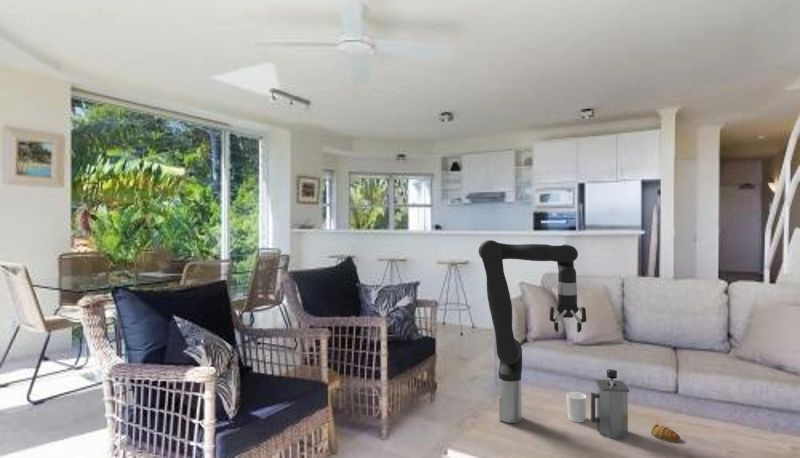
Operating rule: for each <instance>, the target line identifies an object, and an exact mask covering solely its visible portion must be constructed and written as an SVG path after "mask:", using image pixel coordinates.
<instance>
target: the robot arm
mask: <svg viewBox="0 0 800 458" xmlns="http://www.w3.org/2000/svg"><path fill="white" fill-rule="evenodd" d="M478 254H479V258H480V259H481V260H482V263H483V268H484V271H485V275H486V294H487V301H488V306H489V311H490V316H491V320H492V324H493V328H494V329H493V330H494V334H495V344H496V345H495V347H496V354H497V355H496V356H497V357H498V359H499V368H498V417H499V419H498V420H499V422H504V423H507V424H517V423H521V422H522V420H523V418H522V417H523V408H522V407H523V406H522V405H523V403H522V401H523V400H522V391H523V390H522V372H523V349H522V345H521V343H520V341H518V340H517V339H516V338H515V336H514V331H513V306H512V298H511V294H510V289H509V285H508V282H507V279H506V276H505V271H504V260H520V261H521V260H522V261H530V262H556V264H557V269H558V270H557V271H558V274H557V275H558V276H557V277H558V278H557V279H558V280H557V281H558V283H557V306H552V305H551V306H550V307H549V320H550V322H552V323H553V328H554V331H555V332H556V333H559V322H560V320H562V318H570V319H571V318H574V319H575V320H576V321H577V322H576V331H577V333H580V332H582V324H583V323H587V312H586V308H585V307H584V306H581V307H579V306H578V285H577V271H576V269H575V264H574V262H575V261H576V259H578V256H579V252H578V250H577V249H576V247H575V246H573V245H570V244H562V245H551V244H544V243H543V244H542V243H541V244H540V243H539V244H537V243H534V244H533V243H526V244H525V243H524V244H512V243H511V244H510V243H501V242H498V241H495V240H489V239H488V240H485V241H483V242H482V243H481V244H480V245H479V247H478ZM556 311H557V312H558V313H557V314H556V317H555V316H554V315H555V313H556ZM578 311H579V312H580V313H581V318H580V317H579V316H578V315H577V313H578ZM554 317H555V318H554Z"/></svg>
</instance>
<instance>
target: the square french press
mask: <svg viewBox="0 0 800 458" xmlns="http://www.w3.org/2000/svg"><path fill="white" fill-rule="evenodd" d="M595 382H596V392H590V420H591V423H593V424H594V423H595V424H596V425H597V427H596V429H597V432H598V433H599V435H600V436H603V437H605V438H608V439H610V440H611V439H614V440H623V439H625V438H626V437H628V436H629V417H628V416H629V412H628V411H629V404H628V403H629V397H628V395H629V394H628V393H630V389H629V388H628V387H627V385H626V384H625V383H624V382H623V381H622V380H617V379H616V380H615V379H613V386H611V379H595Z"/></svg>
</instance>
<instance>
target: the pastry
mask: <svg viewBox="0 0 800 458" xmlns="http://www.w3.org/2000/svg"><path fill="white" fill-rule="evenodd" d="M650 433H651V435H652V436H653V437H655V438H657V439H660V440H662V441H665V442H666V441H667V442H670V443H671V442H672V443H678V442H679V441H680V440H681V435H679V434H678V433H677V432H676V431H674V430H673V429H670V428H669V427H668V426H664V425H663V424H662V425H660V424H658V423H656V424H654V425H653V426H652V427H651V431H650Z"/></svg>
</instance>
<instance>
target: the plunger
mask: <svg viewBox="0 0 800 458" xmlns="http://www.w3.org/2000/svg"><path fill="white" fill-rule="evenodd" d="M606 378H608V379H609V380H611V386H613V380H615V379H616V380H617V379H618V371H617V370H616V369H612V368H611V369H606Z"/></svg>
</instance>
